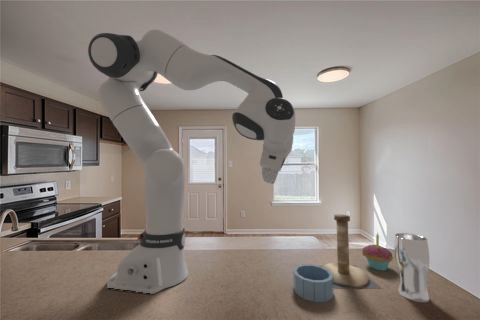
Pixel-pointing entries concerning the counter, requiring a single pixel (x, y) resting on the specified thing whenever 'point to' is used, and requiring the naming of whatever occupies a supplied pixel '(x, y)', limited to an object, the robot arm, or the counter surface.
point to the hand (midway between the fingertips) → (276, 164)
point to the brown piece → (345, 259)
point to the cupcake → (377, 255)
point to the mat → (369, 286)
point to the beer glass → (412, 265)
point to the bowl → (313, 283)
